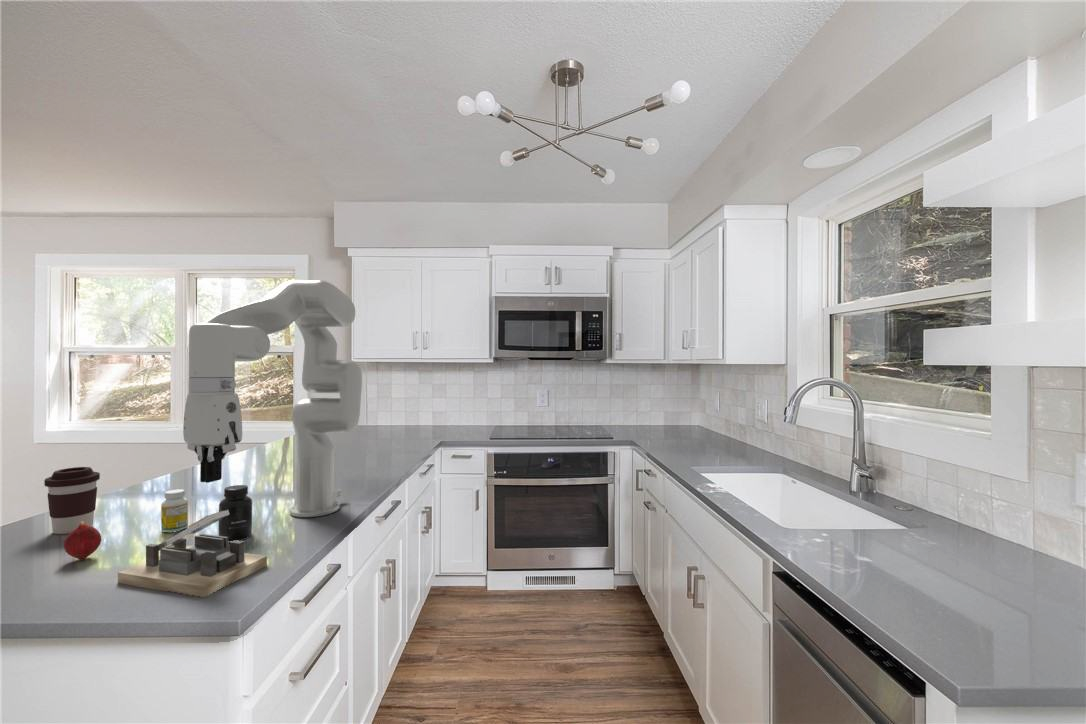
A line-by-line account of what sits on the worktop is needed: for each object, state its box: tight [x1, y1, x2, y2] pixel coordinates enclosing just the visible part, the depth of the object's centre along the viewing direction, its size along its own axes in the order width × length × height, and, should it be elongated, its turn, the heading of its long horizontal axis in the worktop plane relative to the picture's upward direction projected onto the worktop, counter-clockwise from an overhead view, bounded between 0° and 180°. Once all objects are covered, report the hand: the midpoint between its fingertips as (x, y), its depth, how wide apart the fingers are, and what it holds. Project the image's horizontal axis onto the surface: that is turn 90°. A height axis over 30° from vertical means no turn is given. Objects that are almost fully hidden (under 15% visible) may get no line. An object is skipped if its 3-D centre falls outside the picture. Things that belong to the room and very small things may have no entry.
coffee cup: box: [43, 466, 101, 535], centre depth 122 cm, size 10×10×15 cm
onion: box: [63, 522, 102, 561], centre depth 104 cm, size 6×6×8 cm
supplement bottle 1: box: [160, 488, 189, 533], centre depth 122 cm, size 5×5×10 cm
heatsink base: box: [117, 533, 268, 598], centre depth 98 cm, size 14×21×6 cm, turn 75°
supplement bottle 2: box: [218, 484, 253, 541], centre depth 117 cm, size 7×7×12 cm
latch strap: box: [158, 510, 230, 552], centre depth 98 cm, size 4×16×1 cm, turn 75°
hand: (211, 480), depth 96 cm, fingers closed
